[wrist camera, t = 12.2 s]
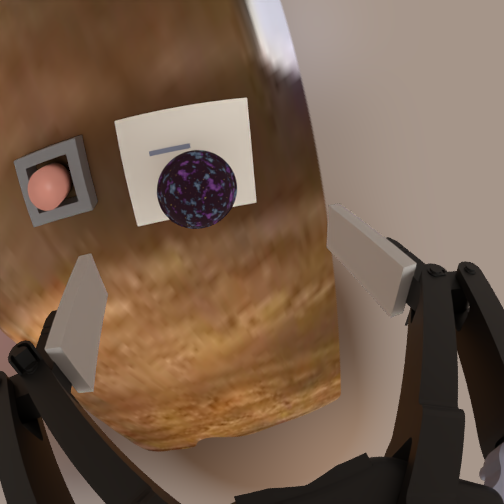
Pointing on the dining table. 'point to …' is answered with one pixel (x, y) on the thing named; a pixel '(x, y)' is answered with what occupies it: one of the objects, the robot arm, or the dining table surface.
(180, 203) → the lollipop
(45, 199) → the button
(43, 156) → the button housing
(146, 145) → the paper pad
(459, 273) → the robot arm
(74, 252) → the dining table surface
